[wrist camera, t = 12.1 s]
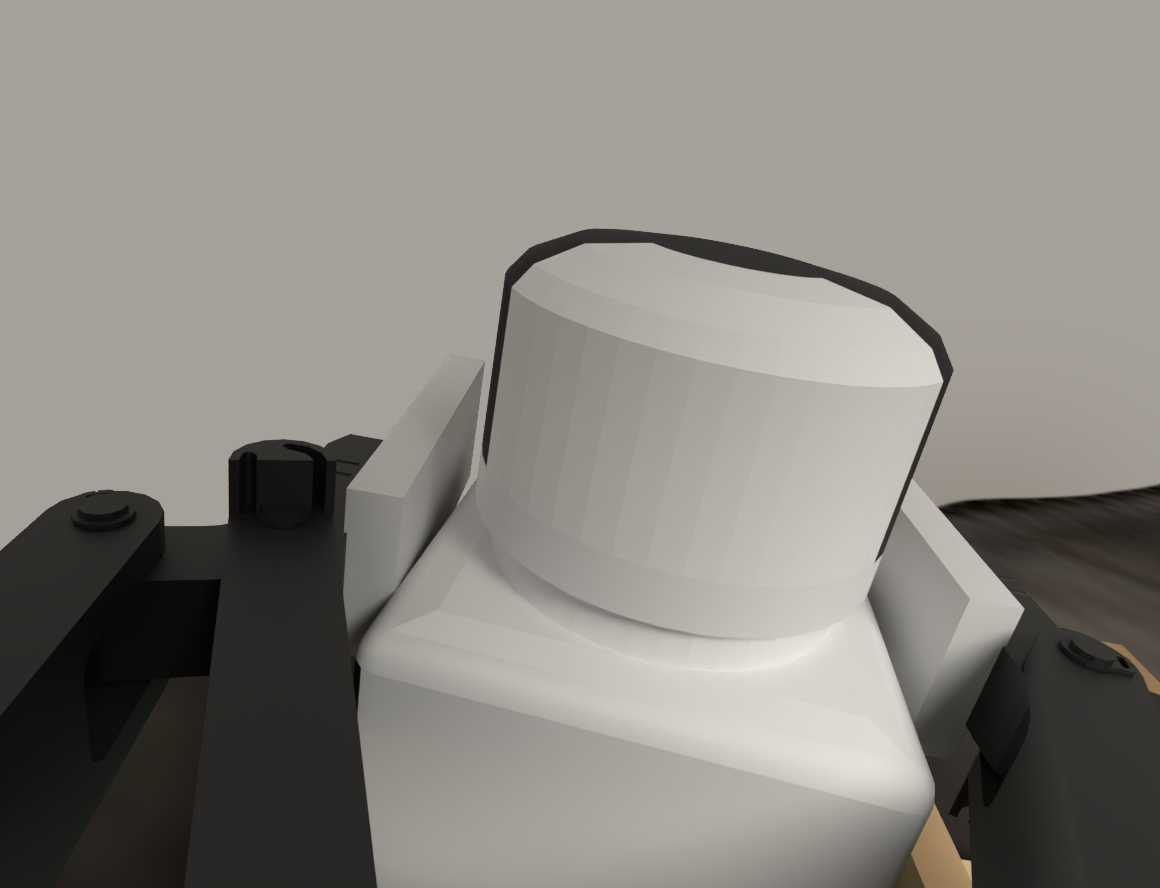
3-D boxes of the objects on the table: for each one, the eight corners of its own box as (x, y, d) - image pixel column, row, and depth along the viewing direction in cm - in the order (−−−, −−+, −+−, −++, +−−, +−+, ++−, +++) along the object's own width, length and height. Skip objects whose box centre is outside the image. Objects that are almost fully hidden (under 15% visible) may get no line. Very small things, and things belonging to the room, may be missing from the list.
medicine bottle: (462, 702, 18) (536, 191, 14) (752, 778, 18) (932, 270, 13) (321, 1012, 12) (374, 224, 7) (778, 1151, 11) (1160, 388, 6)
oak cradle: (1102, 679, 28) (1122, 645, 27) (1419, 1034, 17) (1464, 990, 16) (790, 624, 28) (802, 588, 27) (905, 949, 17) (930, 900, 16)
